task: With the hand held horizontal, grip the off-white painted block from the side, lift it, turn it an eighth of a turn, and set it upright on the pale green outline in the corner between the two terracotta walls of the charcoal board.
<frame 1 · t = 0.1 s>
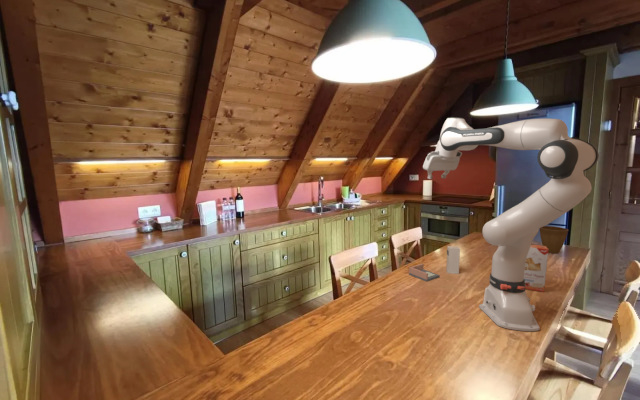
hand: (436, 178, 148), 52 cm above the counter, tool tilted 20°, fingers open, 8 cm apart
corner arena: (427, 276, 157), on the counter
plant pot: (551, 252, 197), on the counter
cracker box: (525, 287, 143), on the counter
painted block: (452, 272, 163), on the counter
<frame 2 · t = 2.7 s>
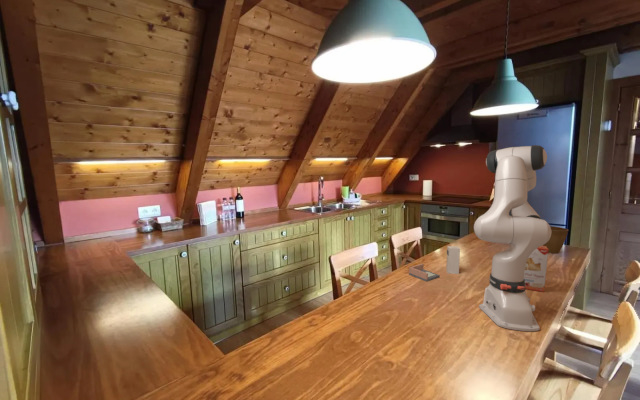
hand: (478, 233, 157), 22 cm above the counter, tool horizontal, fingers open, 8 cm apart
nothing on the counter moved.
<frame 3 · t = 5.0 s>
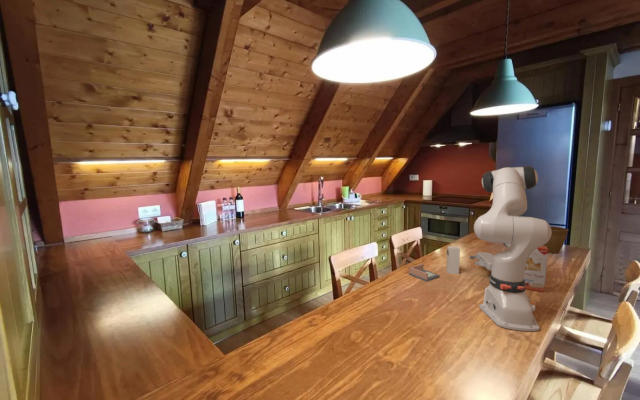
hand: (472, 259, 160), 8 cm above the counter, tool horizontal, fingers open, 8 cm apart
nothing on the counter moved.
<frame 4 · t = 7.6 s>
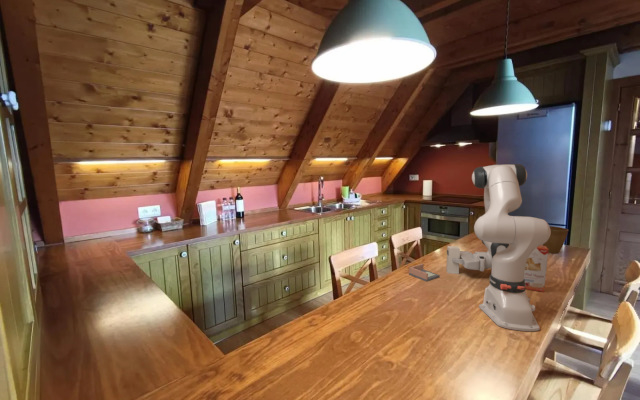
hand: (451, 258, 162), 8 cm above the counter, tool horizontal, fingers closed on painted block, 4 cm apart
painted block: (452, 272, 163), on the counter, touching gripper
everything else where it was.
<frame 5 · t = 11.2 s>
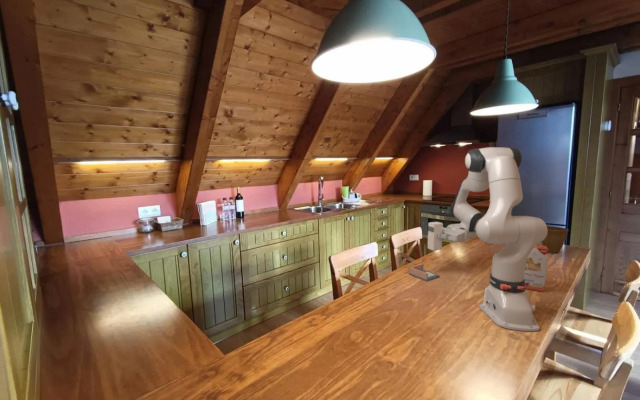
hand: (433, 234, 156), 22 cm above the counter, tool horizontal, fingers closed on painted block, 4 cm apart
painted block: (434, 248, 157), point 14 cm above the counter, touching gripper
everything else where it was.
when the fingers open (10 cm above the counter, at t = 14.9 s): painted block drops 1 cm, resting on corner arena.
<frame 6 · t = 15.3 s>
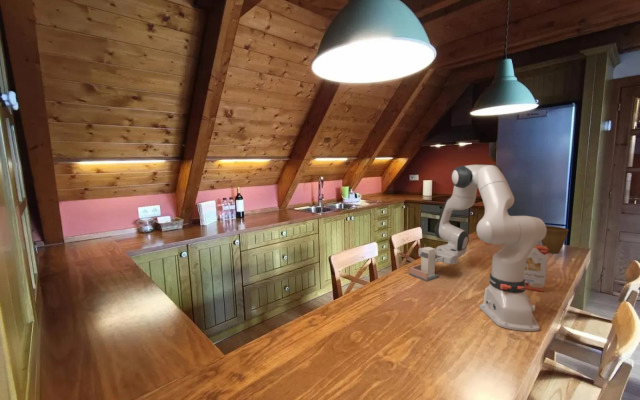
hand: (427, 257, 155), 10 cm above the counter, tool horizontal, fingers open, 8 cm apart
painted block: (427, 274, 157), point 1 cm above the counter, touching corner arena
everything else where it was.
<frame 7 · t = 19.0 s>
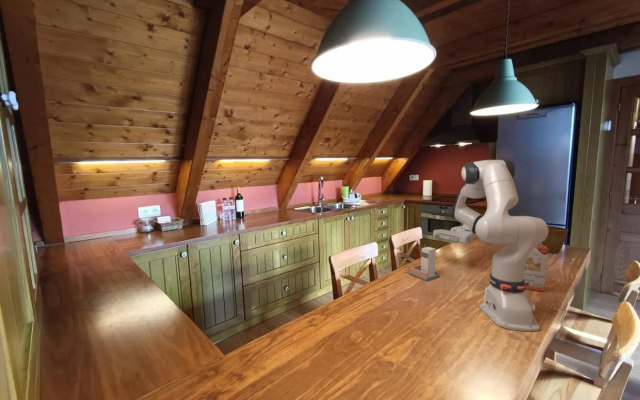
hand: (442, 237, 160), 19 cm above the counter, tool horizontal, fingers open, 8 cm apart
nothing on the counter moved.
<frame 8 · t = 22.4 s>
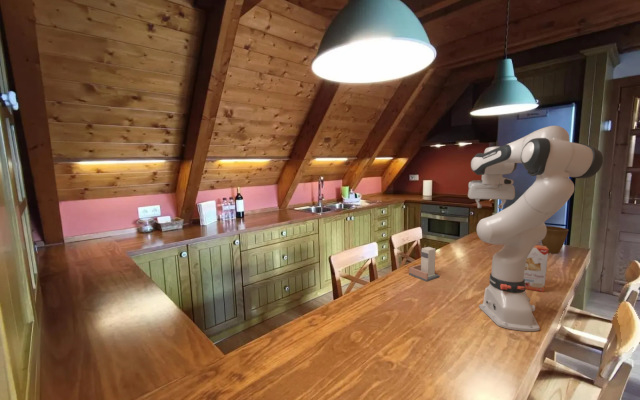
hand: (489, 208, 147), 37 cm above the counter, tool pointing down, fingers open, 8 cm apart
nothing on the counter moved.
at the end: painted block 0.0 cm off-centre on the corner arena, point 1.2 cm above the corner arena's base; painted block tilted 0°; the gripper is holding nothing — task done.
